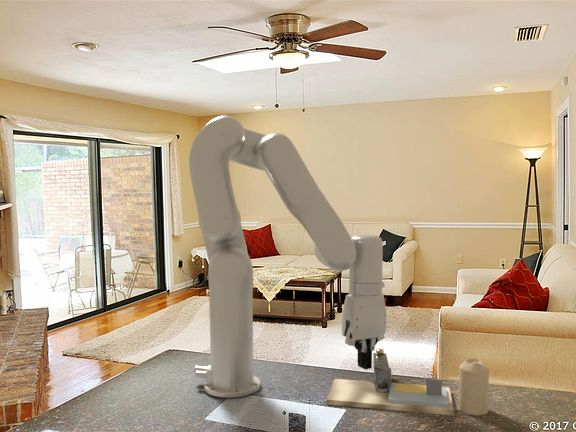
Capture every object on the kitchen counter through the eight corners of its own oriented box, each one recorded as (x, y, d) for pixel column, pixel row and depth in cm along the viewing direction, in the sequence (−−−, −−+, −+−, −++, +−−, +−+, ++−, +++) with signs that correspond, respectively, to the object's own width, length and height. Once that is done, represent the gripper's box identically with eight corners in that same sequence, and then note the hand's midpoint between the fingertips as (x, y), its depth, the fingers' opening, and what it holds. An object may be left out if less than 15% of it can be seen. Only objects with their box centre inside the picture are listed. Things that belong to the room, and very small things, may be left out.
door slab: (388, 402, 103) (388, 383, 103) (390, 386, 112) (390, 368, 112) (448, 407, 100) (448, 387, 100) (445, 390, 109) (445, 372, 109)
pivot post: (374, 396, 109) (374, 388, 109) (375, 391, 112) (375, 382, 112) (390, 398, 108) (390, 389, 108) (390, 392, 111) (390, 383, 111)
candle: (490, 417, 99) (491, 365, 98) (460, 414, 100) (461, 364, 99) (485, 405, 104) (486, 356, 103) (457, 403, 105) (457, 355, 105)
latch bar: (391, 388, 108) (391, 369, 108) (374, 387, 108) (374, 369, 108) (387, 364, 122) (387, 348, 122) (371, 364, 123) (371, 348, 122)
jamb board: (326, 404, 105) (326, 399, 105) (334, 383, 117) (334, 378, 117) (453, 415, 99) (453, 410, 99) (449, 392, 111) (449, 387, 111)
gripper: (379, 283, 125) (378, 357, 126) (329, 289, 117) (328, 368, 118) (401, 288, 119) (399, 366, 119) (349, 294, 111) (348, 378, 112)
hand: (364, 367), depth 119 cm, fingers closed
